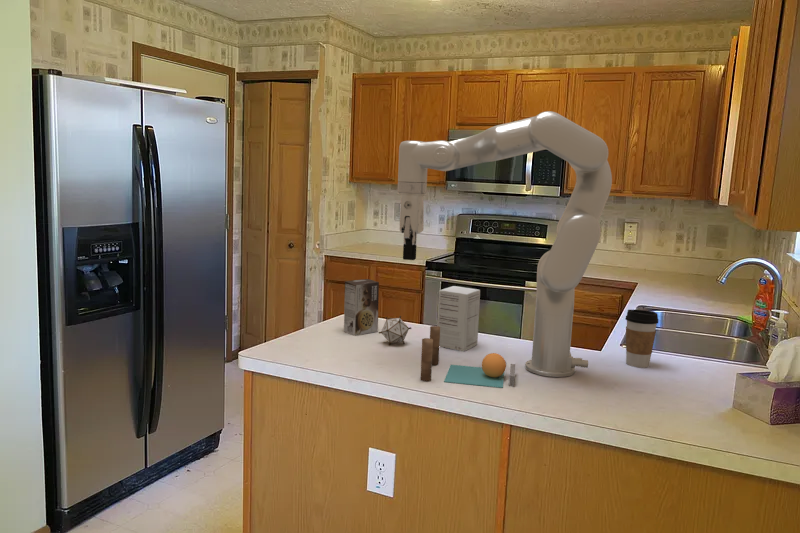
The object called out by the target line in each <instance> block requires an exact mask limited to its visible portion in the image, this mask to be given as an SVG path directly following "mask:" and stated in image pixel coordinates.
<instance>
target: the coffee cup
mask: <svg viewBox="0 0 800 533" xmlns="http://www.w3.org/2000/svg"><path fill="white" fill-rule="evenodd" d="M658 316H659V315H658V313H657V312H654V311H651V310H644V309H627V312H626V315H625V320H626V326H625V345H626V346H625V349H626V350H625V354H626V355H625V356H626V358H625V363H626V364H627V365H628V366H631V367H634V368H641V369H643V368H644V369H645V368H648V367H650V364H651V359H652V358H651V357H652V353H653V348H654V343H655V338H656V334H657V324H659V317H658Z"/></svg>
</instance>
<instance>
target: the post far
mask: <svg viewBox="0 0 800 533" xmlns="http://www.w3.org/2000/svg"><path fill="white" fill-rule="evenodd" d="M429 338H430V339H433V350H432V367H433V366H439V363H440V362H439V361H440V360H439V359H440V347H439V344H440V327H439V326H437V325H431V326H430V327H429Z"/></svg>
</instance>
